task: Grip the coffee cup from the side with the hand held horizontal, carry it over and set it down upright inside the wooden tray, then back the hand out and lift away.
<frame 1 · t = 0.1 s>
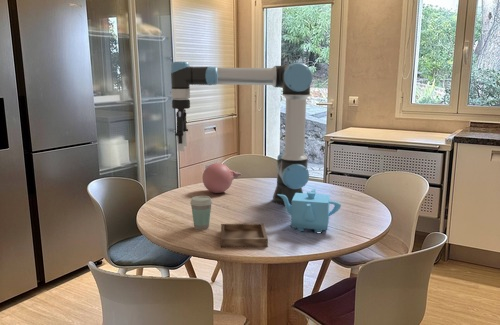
hand: (182, 148, 189), 28 cm above the table, tool pointing down, fingers open, 13 cm apart
coffee cup: (201, 227, 173), on the table
wooden tray: (243, 238, 162), on the table
pink balloon: (222, 192, 226), on the table
teakettle: (307, 228, 174), on the table
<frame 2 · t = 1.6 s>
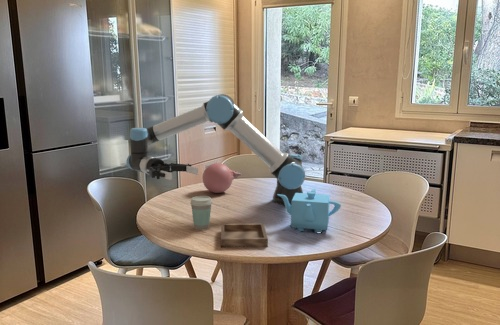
hand: (184, 173, 176), 20 cm above the table, tool horizontal, fingers open, 13 cm apart
nothing on the table moved.
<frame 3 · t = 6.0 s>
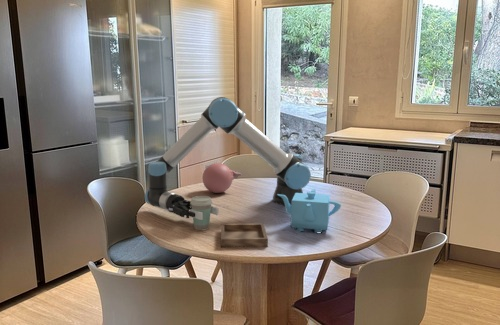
hand: (209, 213, 169), 7 cm above the table, tool horizontal, fingers closed on coffee cup, 8 cm apart
coffee cup: (201, 227, 173), on the table, touching gripper
everything else where it was.
when the fingers open (9 cm above the table, at t = 12.2 s): coffee cup drops 1 cm, resting on wooden tray.
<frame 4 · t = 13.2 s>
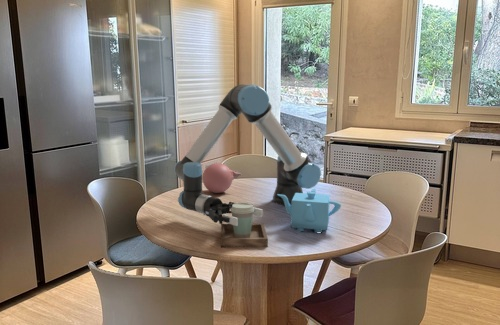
hand: (250, 217, 158), 9 cm above the table, tool horizontal, fingers open, 13 cm apart
coffee cup: (242, 237, 161), point 1 cm above the table, touching wooden tray
everything else where it was.
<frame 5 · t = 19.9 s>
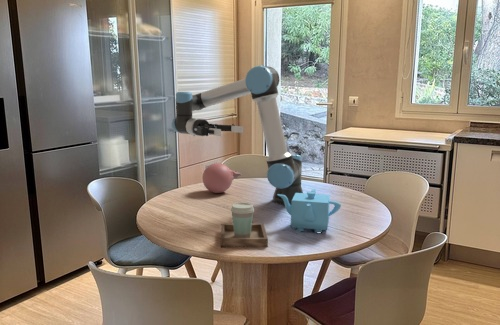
hand: (231, 131, 185), 36 cm above the table, tool horizontal, fingers open, 13 cm apart
nothing on the table moved.
at the end: coffee cup 0.4 cm off-centre on the wooden tray, point 0.6 cm above the wooden tray's base; coffee cup tilted 1°; the gripper is holding nothing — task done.
